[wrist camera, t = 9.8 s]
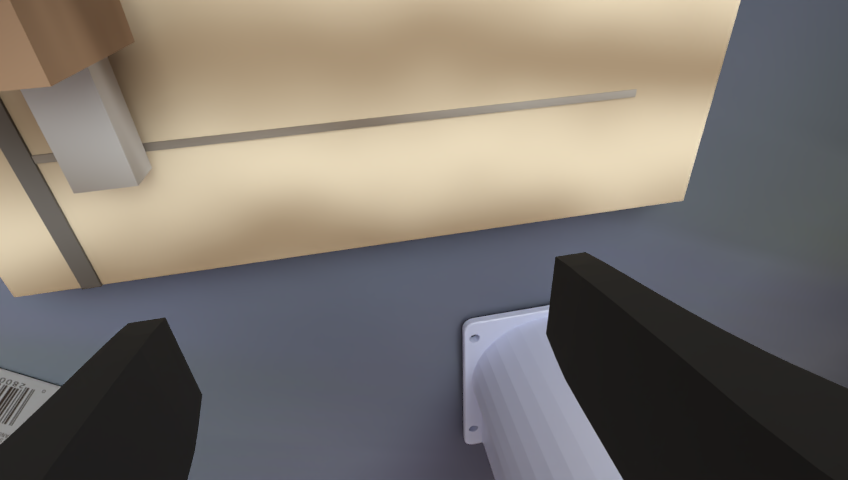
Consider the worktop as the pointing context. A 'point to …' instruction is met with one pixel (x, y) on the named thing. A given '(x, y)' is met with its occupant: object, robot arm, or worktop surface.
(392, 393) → the worktop surface
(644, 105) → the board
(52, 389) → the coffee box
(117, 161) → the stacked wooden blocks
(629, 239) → the worktop surface
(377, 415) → the worktop surface
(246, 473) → the worktop surface
